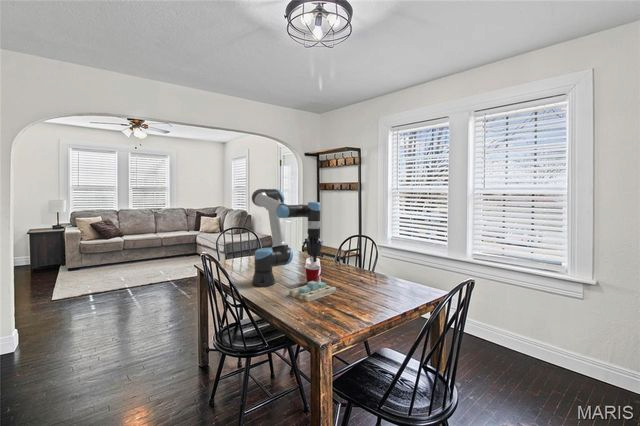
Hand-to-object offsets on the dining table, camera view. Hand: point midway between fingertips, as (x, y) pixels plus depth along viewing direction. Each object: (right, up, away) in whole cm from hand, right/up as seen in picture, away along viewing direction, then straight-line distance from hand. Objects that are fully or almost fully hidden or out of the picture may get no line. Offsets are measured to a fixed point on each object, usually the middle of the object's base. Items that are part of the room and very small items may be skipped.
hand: (313, 267), depth 192 cm
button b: (0, -13, +1) cm, 13 cm away
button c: (+5, -15, +6) cm, 17 cm away
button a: (-5, -16, -4) cm, 17 cm away
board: (0, -16, +1) cm, 16 cm away
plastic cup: (-1, -15, +22) cm, 27 cm away
